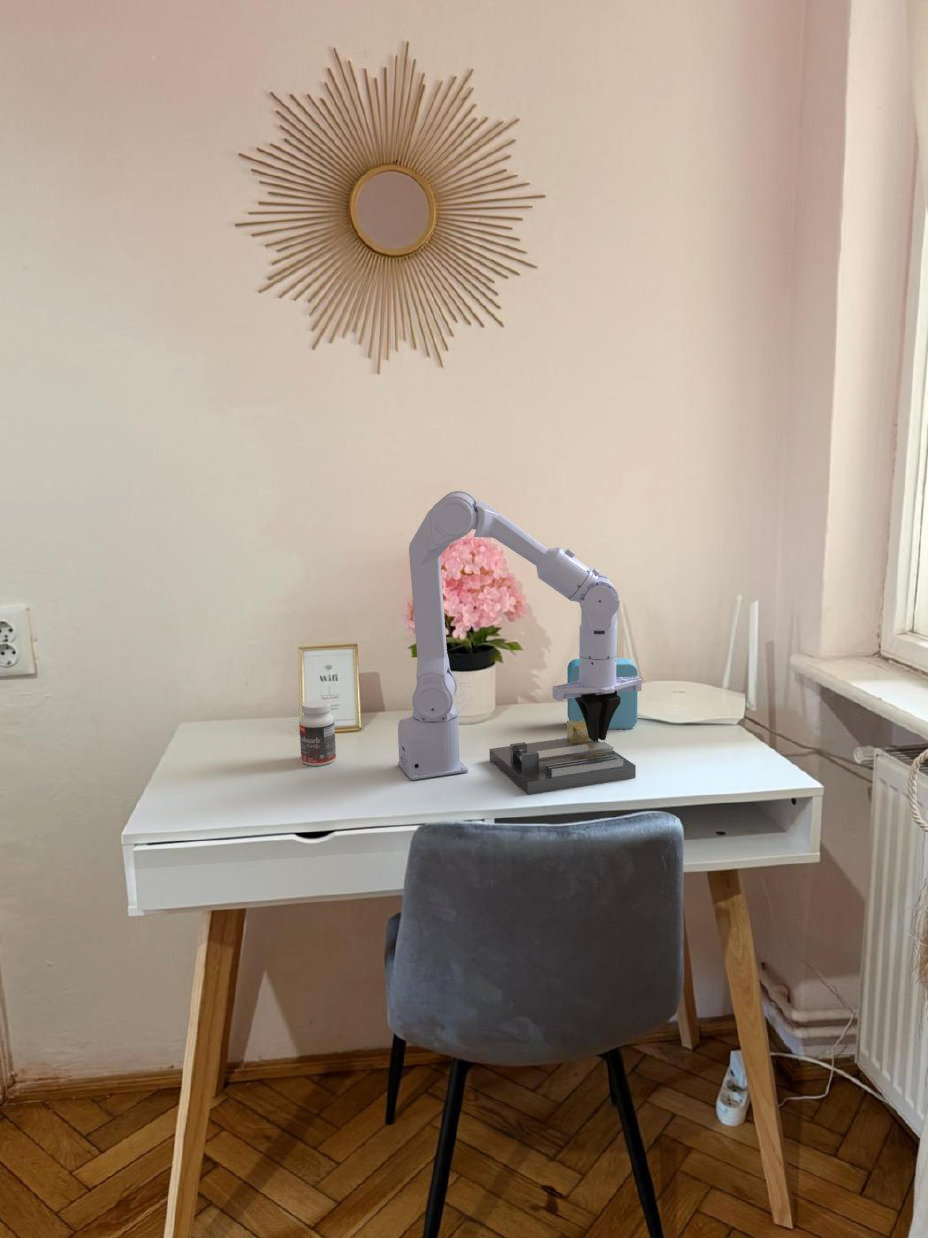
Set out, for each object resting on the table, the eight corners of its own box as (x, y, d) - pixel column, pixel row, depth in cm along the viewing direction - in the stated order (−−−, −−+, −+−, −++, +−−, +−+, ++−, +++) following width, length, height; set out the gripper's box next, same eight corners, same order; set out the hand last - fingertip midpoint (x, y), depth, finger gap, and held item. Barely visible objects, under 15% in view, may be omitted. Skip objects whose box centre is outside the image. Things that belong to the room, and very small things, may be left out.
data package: (633, 721, 182) (634, 657, 180) (637, 729, 178) (638, 663, 175) (567, 722, 182) (567, 658, 180) (569, 730, 178) (569, 665, 175)
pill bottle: (294, 764, 164) (290, 705, 162) (315, 753, 169) (311, 696, 167) (323, 769, 162) (319, 710, 160) (343, 757, 167) (340, 700, 165)
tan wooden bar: (524, 766, 153) (524, 757, 153) (516, 760, 156) (516, 751, 155) (613, 753, 158) (613, 745, 157) (604, 747, 161) (604, 739, 160)
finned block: (527, 794, 149) (527, 763, 148) (489, 760, 164) (489, 731, 163) (635, 777, 155) (635, 746, 154) (589, 746, 169) (589, 717, 168)
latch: (586, 753, 160) (586, 734, 159) (566, 739, 167) (566, 721, 166) (603, 750, 161) (603, 731, 160) (583, 737, 168) (583, 718, 167)
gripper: (566, 666, 149) (565, 752, 152) (652, 656, 154) (650, 740, 157) (546, 655, 156) (546, 738, 159) (629, 646, 160) (628, 727, 163)
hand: (597, 739), depth 158 cm, fingers closed
